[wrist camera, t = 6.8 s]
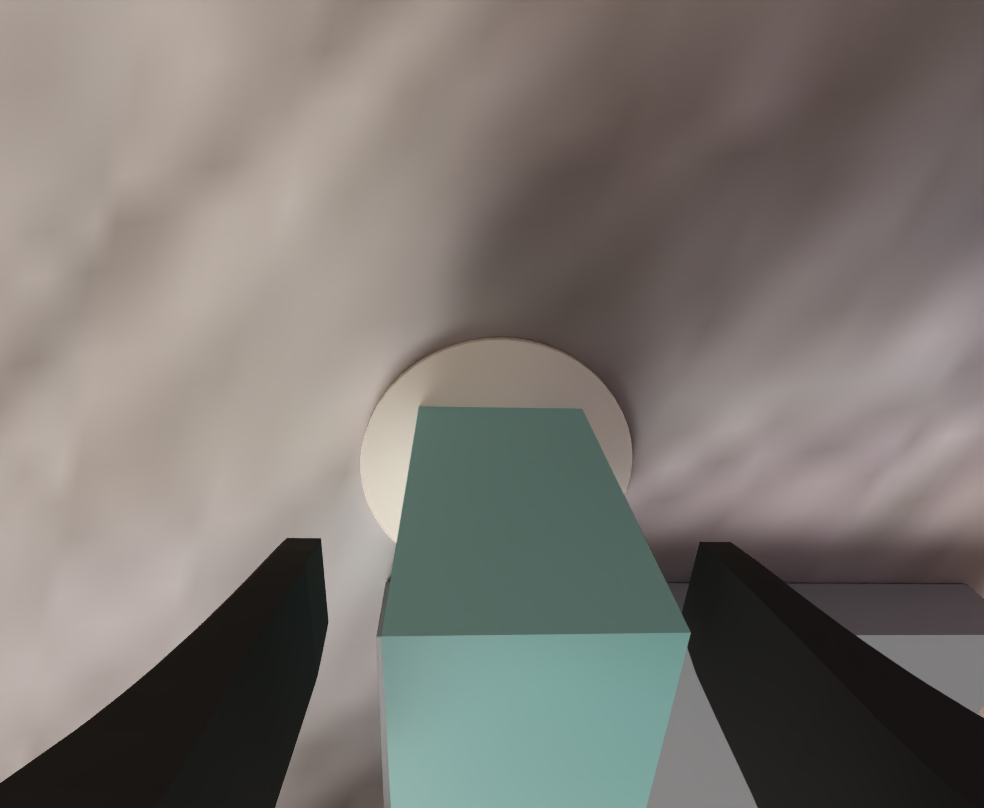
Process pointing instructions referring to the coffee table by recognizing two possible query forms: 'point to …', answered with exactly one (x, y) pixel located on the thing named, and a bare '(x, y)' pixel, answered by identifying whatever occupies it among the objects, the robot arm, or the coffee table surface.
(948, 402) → the coffee table surface
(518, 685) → the peg
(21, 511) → the coffee table surface
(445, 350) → the coaster
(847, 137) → the coffee table surface
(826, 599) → the pocket board
